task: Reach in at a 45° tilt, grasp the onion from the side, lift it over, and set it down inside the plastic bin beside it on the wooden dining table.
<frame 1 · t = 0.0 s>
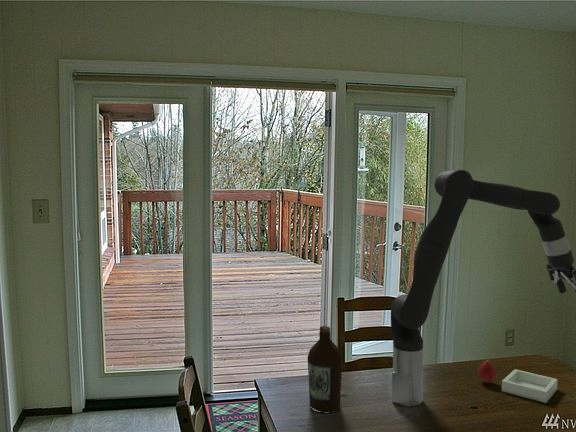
hand: (572, 295, 162), 31 cm above the table, tool tilted 20°, fingers open, 8 cm apart
bin: (529, 390, 163), on the table
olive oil: (324, 407, 152), on the table
onion: (486, 383, 169), on the table
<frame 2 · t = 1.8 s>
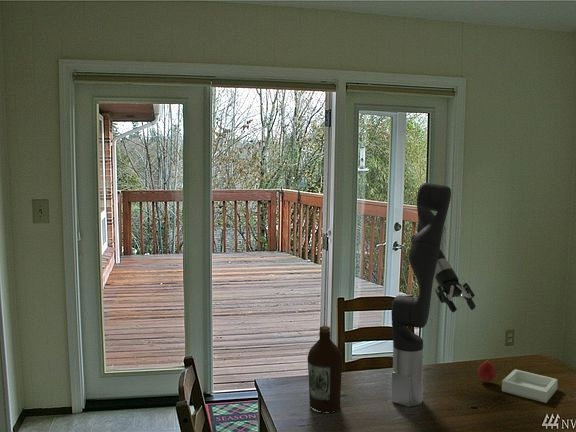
hand: (464, 310, 178), 23 cm above the table, tool tilted 45°, fingers open, 8 cm apart
nothing on the table moved.
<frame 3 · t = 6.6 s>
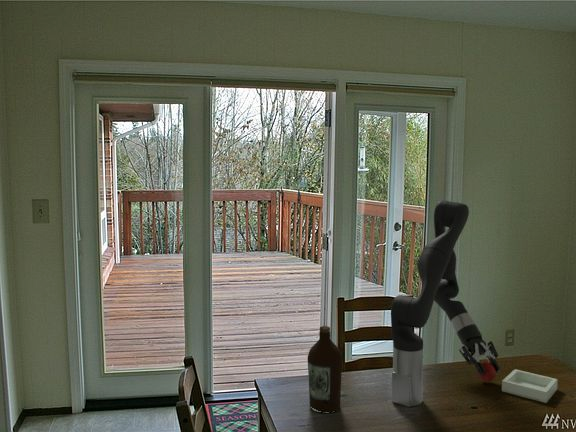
hand: (490, 372, 167), 4 cm above the table, tool tilted 45°, fingers closed on onion, 5 cm apart
onion: (486, 383, 169), on the table, touching gripper
everything else where it was.
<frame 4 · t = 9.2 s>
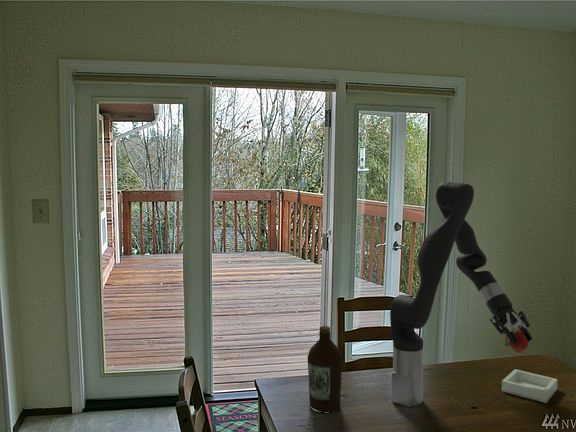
hand: (523, 341, 162), 16 cm above the table, tool tilted 45°, fingers closed on onion, 5 cm apart
onion: (518, 353, 164), point 12 cm above the table, touching gripper
everything else where it was.
when the fingers open (7 cm above the table, at t = 11.8 s): onion drops 2 cm, resting on bin.
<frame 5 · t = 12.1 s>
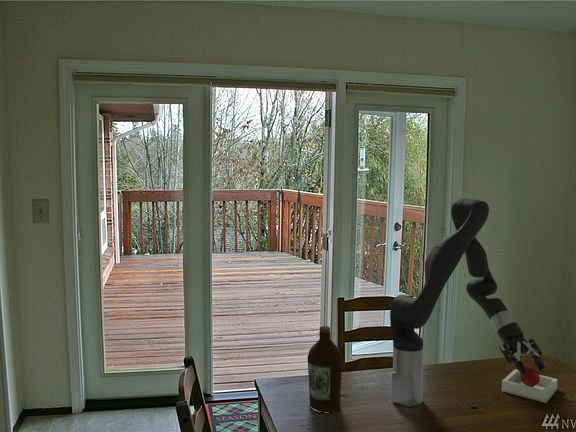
hand: (533, 371, 161), 7 cm above the table, tool tilted 45°, fingers open, 7 cm apart
onion: (529, 388, 163), resting on bin
everything else where it was.
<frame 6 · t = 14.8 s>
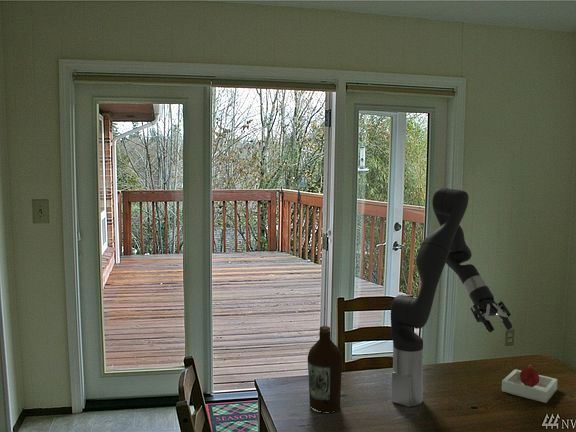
hand: (501, 330, 172), 17 cm above the table, tool tilted 45°, fingers open, 8 cm apart
nothing on the table moved.
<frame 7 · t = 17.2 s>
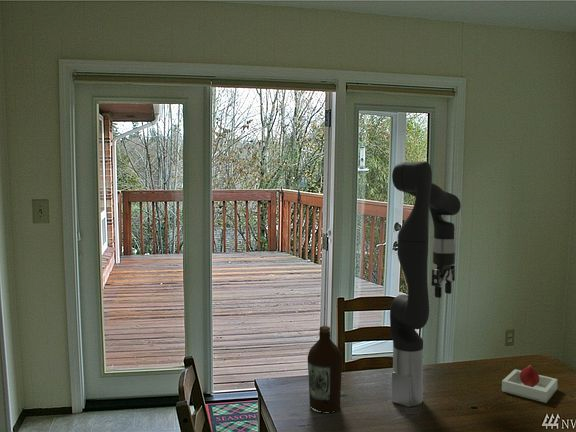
hand: (443, 295, 178), 28 cm above the table, tool pointing down, fingers open, 8 cm apart
nothing on the table moved.
at the end: onion inside the target area on the bin (0.2 cm from its centre), point 0.4 cm above the bin's base; the gripper is holding nothing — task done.
